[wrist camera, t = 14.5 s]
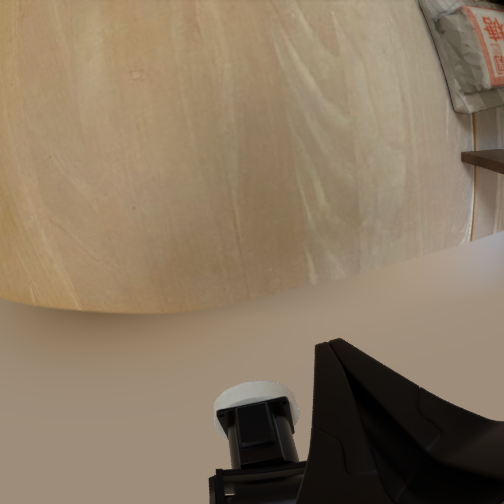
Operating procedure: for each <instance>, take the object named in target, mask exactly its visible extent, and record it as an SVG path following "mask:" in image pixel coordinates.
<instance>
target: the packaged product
mask: <svg viewBox="0 0 504 504" xmlns="http://www.w3.org/2000/svg"><path fill="white" fill-rule="evenodd" d="M418 1H419V4H420V6H421V8H422V11H423V13H424V15H425V18H426V20H427V23H428V25H429V28H430V31H431V33H432V36H433V39H434V42H435V45H436V48H437V51H438V54H439V57H440V60H441V63H442V66H443V70H444V73H445V76H446V80H447V83H448V87H449V91H450V94H451V98H452V102H453V107H454V111H456V112H461V113H466V114H471V113H474V112H478V111H483V110H487V109H490V108H494V107H499V106H504V5H499V4H495V3H490V2H485V1H475V0H418Z"/></svg>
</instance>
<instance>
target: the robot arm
mask: <svg viewBox="0 0 504 504" xmlns="http://www.w3.org/2000/svg"><path fill="white" fill-rule="evenodd" d="M216 417H217V419H218V421H219V423H220V425H221V427H222V428H223V430H224V432H225V434H226V436H227V438H228V440H229V447H230V456H231V465H232V469H228V470H222V469H216V475H214V476H213V477H210V478H209V491H210V492H209V494H210V504H504V421H495V420H490V419H487V418H485V417H482V416H480V415H477V414H475V413H473V412H470V411H468V410H465V409H463V408H461V407H458V406H456V405H454V404H452V403H449V402H447V401H445V400H443V399H441V398H439V397H437V396H436V395H434V394H432V393H430V392H428V391H427V390H425V389H423V388H422V387H420V388H419V386H418V385H416V384H415V383H413V382H412V381H410V380H408V379H407V378H405V377H403V376H402V375H400V374H398V373H397V372H395V371H393V370H392V369H390V368H388V367H387V366H385V365H383V364H382V363H380V362H379V361H377V360H375V359H374V358H372V357H370V356H369V355H367V354H365V353H364V352H362V351H361V350H359V349H358V348H356V347H354V346H353V345H351V344H349V343H348V342H346V341H345V340H343V339H341V338H337V339H334V340H330V341H329V342H323V343H320V344H317V345H315V364H314V390H313V411H312V428H311V439H310V448H309V454H308V459H307V461H301V462H300V461H299V458H298V454H297V451H296V447H295V443H294V439H293V436H292V435H293V434H294V433H295V432H294V426H293V420H292V415H291V410H290V404H289V400H288V397H286V396H282V397H277V398H273V399H269V400H264V401H260V402H255V403H250V404H246V405H241V406H235V407H230V408H224V409H219V410H217V411H216ZM225 494H234V495H225Z"/></svg>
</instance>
